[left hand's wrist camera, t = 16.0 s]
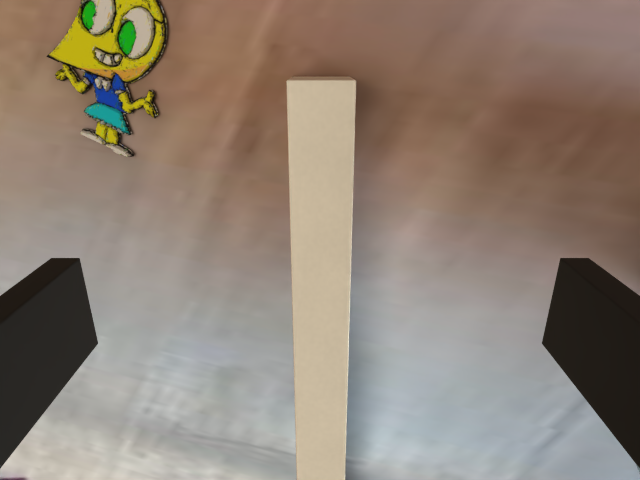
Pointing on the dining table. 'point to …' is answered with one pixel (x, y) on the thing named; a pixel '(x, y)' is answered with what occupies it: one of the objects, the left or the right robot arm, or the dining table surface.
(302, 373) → the post
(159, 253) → the dining table surface
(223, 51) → the dining table surface
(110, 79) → the toy
